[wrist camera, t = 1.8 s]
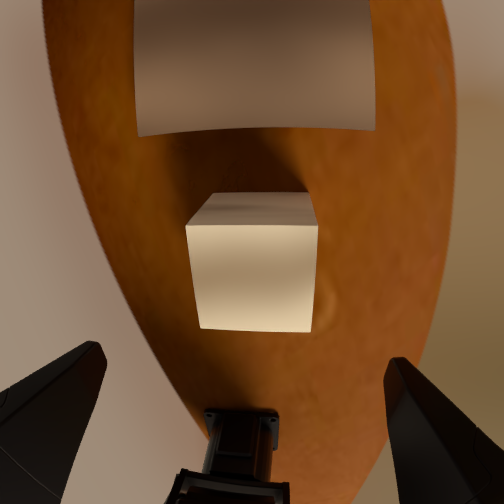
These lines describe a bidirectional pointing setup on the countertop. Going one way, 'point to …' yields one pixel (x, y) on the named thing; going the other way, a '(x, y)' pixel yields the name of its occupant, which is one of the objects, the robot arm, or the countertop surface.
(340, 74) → the base
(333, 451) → the countertop surface
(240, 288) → the block
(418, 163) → the countertop surface
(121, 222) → the countertop surface
